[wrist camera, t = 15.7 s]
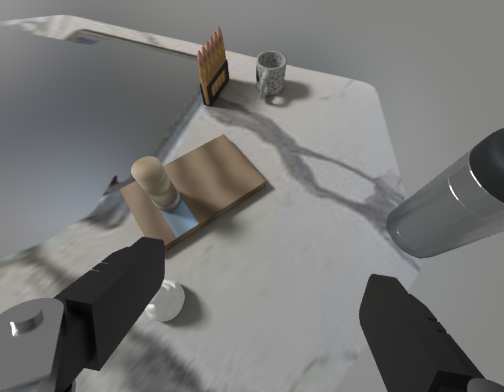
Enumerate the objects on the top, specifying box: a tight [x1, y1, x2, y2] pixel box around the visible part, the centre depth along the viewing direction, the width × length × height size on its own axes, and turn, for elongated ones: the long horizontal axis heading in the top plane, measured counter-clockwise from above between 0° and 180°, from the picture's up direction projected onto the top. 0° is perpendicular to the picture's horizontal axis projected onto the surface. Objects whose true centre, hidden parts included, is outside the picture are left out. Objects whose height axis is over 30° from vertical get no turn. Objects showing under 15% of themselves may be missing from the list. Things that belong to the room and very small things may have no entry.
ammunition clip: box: [198, 27, 229, 106], centre depth 51 cm, size 11×2×12 cm, turn 159°
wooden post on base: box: [131, 156, 181, 212], centre depth 36 cm, size 4×4×10 cm
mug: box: [256, 51, 287, 99], centre depth 54 cm, size 10×7×7 cm, turn 160°
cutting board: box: [120, 134, 266, 251], centre depth 42 cm, size 22×14×2 cm, turn 126°
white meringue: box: [145, 280, 185, 322], centre depth 32 cm, size 6×6×5 cm
